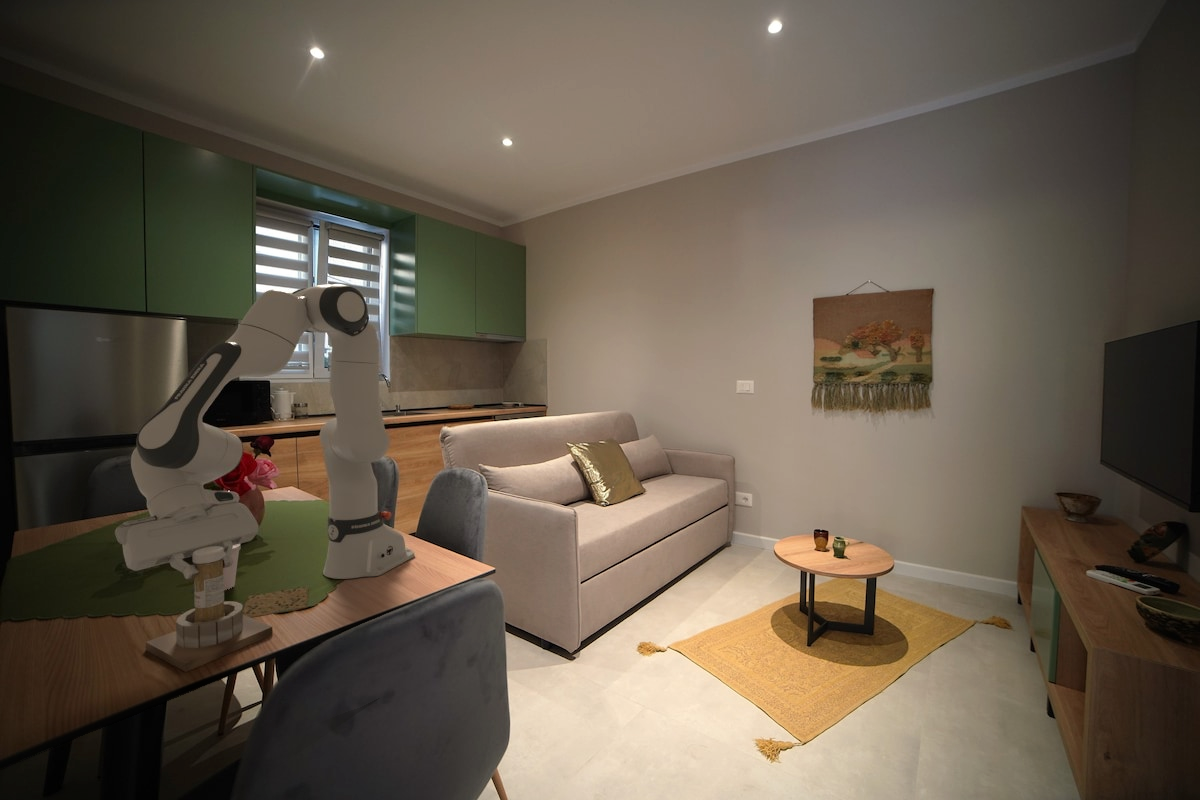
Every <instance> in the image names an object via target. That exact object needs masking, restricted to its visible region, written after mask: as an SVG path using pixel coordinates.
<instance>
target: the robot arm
mask: <svg viewBox="0 0 1200 800" xmlns="http://www.w3.org/2000/svg"><path fill="white" fill-rule="evenodd" d="M365 299H366V298H365V297H364V295H363V294H362V293H361V292H360V291H359V290H358V289H357V288H355V287H353V286H350V285H347V284H341V283H334V284H319V285H318V284H317V285H314V286H311V287H308V288H306V287H305V288H301V289H297V290H295V291H293V292H290V291H287V290H283V289H269V290H268V289H267V290H266V291H264V292H263V293H262V294H261V295H260V296H259V297H258V298H257V299H256V301H255V302H254V303H253V304H252V305H251V306H250V308H249V309H248V311H246V314H245V315H244V317H243V319H242V320H241V322H240V323H239V325H238V326H237V328H236V331H234V333H233V334H232V335H231V336H230V337H229V338H228V339H227V340H225V341H223V342H219V343H216V344H215V345H213V346H212V347H210V348H209V349H208V350H207V351H206V352H205V353H204V355H203V356H201V358H200V359H199V361H197V363H196V364H195V365H194V366H193V368H192V369H191V370H190V371H189V372H188V374H187V376H186V377H185V378H184V380H183V381H181V383H180V385H178V387H177V389H175V391H174V392H173V393H172V394H171V396H170V397H169V399H168V400H167V401H166V402H165V403H164V405H163V406H161V408H160V409H159V410H158V411H157V412H155V414H153V415H152V416H150V418H149V419H148V420H147V421H145V423H144V424H143V425H142V426H141V428H140V429H139V431H138V433H137V437H136V441H135V443H136V447H135V448H134V450H132V451H133V452H132V453H131V458H130V468H131V471H132V475H133V478H134V480H135V484H136V485H137V488H138V491H139V492H140V493H141V495H142V496H144V497H145V498H146V499H145V500H146V508H147V510H148V513H149V516H148V517H143V518H140V519H136V520H135V519H134V520H128V521H124V522H123V523H122V524H120V525H119V526H117V527H116V529H115V531H114V535H115V537H116V540H117V542H118V543H119V544H121V545H122V553H123V558H124V562H125V564H126V567H127V569H130V570H132V571H135V572H137V571H142V570H144V569H149V568H151V567H156V566H160V565H161V566H162V565H164V564H170V566H171V568H173V569H175V570H177V571H178V572H181V573H182V574H183V577H184V579H186V580H189V579H192V578H194V577H196V576H197V574H198V573H199V571H198V569H197V566H196V564H194V563H193V564H190V563H188V562H186V561H185V560H184V559H186V558H191V557H192V555H193V552H194V551H196V550H198V549H201V548H205V547H211V546H221V547H223V549H224V552H225V553H224V557H223V568H226V567H230V566H231V565H232V564H233V559H232V557H231V551H232V547H233V545H237V544H240V545H241V544H243V543H247V542H248V543H249V542H251V541H253V539H254V537H255V536H256V535H257V534H258V531H259V524H258V522H257V520H256V518H255V517H254V515H253V514H252V512H251V511H250V510H249V508H248V506H246V505H245V504H243V503H241V502H239V500H240V496H239V494H238V493H237V492H235V491H223V490H212V489H206V488H204V485H205V484H209V483H212V482H214V481H216V480H218V479H220V478H223V477H224V476H226V475H227V474H229V473H231V472H233V471H234V470H235V469H236V468H237V467H238V465H240V463H241V461H242V458H243V455H244V446H243V441H242V440H241V438H240V437H239V436H237V435H236V434H234V433H231V432H230V431H227V430H225V429H221V428H219V427H217V426H214V425H210V424H208V423H205V422H203V417H204V415H205V413H206V412H207V411H208V409H209V407H210V406H211V405H212V404H213V402H214V401H215V399H216V398H217V397H218V396H219V394H220V393H221V391H222V390H223V389H224V387H225V386H226V385H227V384H229V382H230V381H232V380H234V379H237V378H241V377H253V378H254V377H255V378H262V377H270V376H273V375H275V374H278V373H280V372H281V371H282V370H284V368H285V367H286V366H287V365H288V364H289V362H290V360H291V359H292V357H293V355H294V352H295V349H296V348H297V346H298V343H299V341H300V339H301V337H302V336H303V334H305V332H306V333H318V334H319V333H323V334H325V333H326V334H327V335H328V338H329V340H330V344H331V355H330V356H331V359H330V361H331V362H330V386H329V387H330V388H329V389H330V390H329V393H330V396H331V399H332V403H333V406H334V413H335V417H334V418H332V419H330V420H328V421H326V422H325V423H324V424H323V425H322V427H321V429H320V432H319V434H318V435H319V436H318V437H319V441H320V445H321V447H322V453H323V458H324V466H325V470H326V476H327V480H328V491H329V492H328V493H329V494H328V497H329V515H328V517H327V535H328V545H327V546H328V547H327V553H326V554H327V555H326V559H325V564H324V566H323V567H324V568H323V571H322V574H323V575H324V576H325V577H327V578H330V579H338V580H345V579H346V580H347V579H356V578H363V577H377V576H382V575H383V574H385V573H387V572H388V571H390V570H392V569H395V568H396V567H398V566H399V565H401V564H403V563H405V562H406V561H409V560H410V559H412V558H414V557H415V552H414V551H413V550H412V549H410V548H408V547H406V543H405V539H404V536H403V535H402V533H400V532H399V531H398V530H395V529H394V528H392V527H390V526H388V525H387V524H385V523H384V520H387V521H388V520H390V519H391V518H392V512H391V511H386V510H384V511H380V510H379V509H378V480H377V478H376V476H375V474H374V469H373V466H372V463H375V462H377V461H380V460H381V459H382V458H383V457H384V456H385V455H386V454H387V453H388V451H389V448H390V436H389V434H388V432H387V430H386V428H385V423H384V417H383V412H382V406H381V401H380V389H379V388H380V345H379V337H378V333H377V329H376V327H375V326H374V325H373V324H372V323H371V322H369V321H370V316H369V310H368V305H367V302H366V300H365ZM383 519H384V520H383Z"/></svg>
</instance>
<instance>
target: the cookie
mask: <svg viewBox="0 0 1200 800" xmlns="http://www.w3.org/2000/svg"><path fill="white" fill-rule="evenodd" d="M309 591H310V587H309V586H303V587H300V586H299V587H295V588H290V589H284V590H283V589H282V590H277V591H273V592H267V593H257V594H252V595H248V596H247V597H246V601H245V603H244V606H243V615H245V616H247V617H250V618H252V619H254V618H258V617H259V618H260V617H264V616H269V615H273V614H274V615H275V614H279V613H278V612H279V611H278V610H283V611H284V609H287V610H288V609H290V610H292V611H297V610H296V609H298V610H302V609H301V608H303V609H306V608H307V607H308V606H307V605H308V604H309V603H308V601H309Z"/></svg>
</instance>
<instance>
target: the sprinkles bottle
mask: <svg viewBox="0 0 1200 800" xmlns="http://www.w3.org/2000/svg"><path fill="white" fill-rule="evenodd" d="M191 557H192V563H193V565H194V564H196V566H197V569H198V571H199V573H198V574H197V576H196V577H193V578H194V581H193V587H194V588H193V589H194V591H193V593H194V597H193V598H194V602H193V603H194V608H195V622H194V623H203V622H208V621H213V620H216V619H219V618H222V617H224V616H225V614H224V601H225V590H224V573H223V557H224V549H223V547H221V546H211V547H205V548H201V549H198V550H196V551H194V552H193V555H192V556H191Z"/></svg>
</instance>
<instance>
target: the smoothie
mask: <svg viewBox="0 0 1200 800" xmlns="http://www.w3.org/2000/svg"><path fill="white" fill-rule="evenodd" d="M240 550H241V543H240V544H237V545H233V547H232V551H231V557H232V559H233V564H232V565H231V566H230V567H226V568H223V573H224V591H227V589H228V590H230V588H231V589H232V587H233V588H235V584H236V576H237V569H238V568H237V567H238V560H239V553H240ZM224 553H225V552H224Z"/></svg>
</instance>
